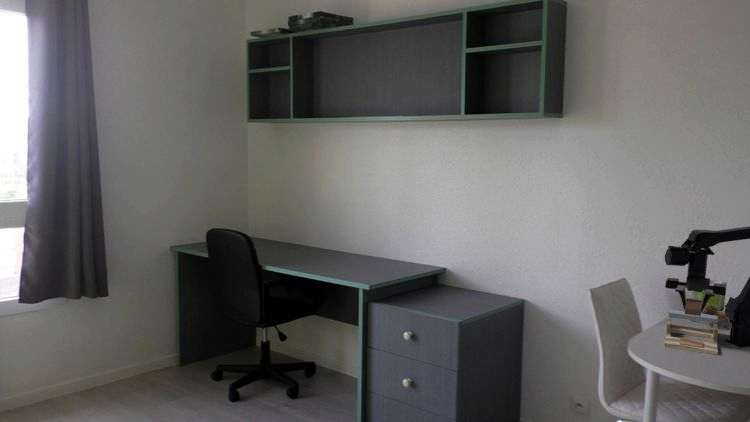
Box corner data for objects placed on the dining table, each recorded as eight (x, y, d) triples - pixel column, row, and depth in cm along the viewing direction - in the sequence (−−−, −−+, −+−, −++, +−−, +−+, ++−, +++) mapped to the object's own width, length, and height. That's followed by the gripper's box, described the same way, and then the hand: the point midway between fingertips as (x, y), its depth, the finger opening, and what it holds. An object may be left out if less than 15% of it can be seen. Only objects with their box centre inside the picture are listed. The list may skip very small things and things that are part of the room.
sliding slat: (717, 323, 231) (717, 319, 230) (668, 316, 238) (668, 312, 238) (717, 320, 235) (717, 315, 235) (669, 313, 242) (669, 309, 242)
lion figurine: (699, 327, 243) (701, 304, 242) (697, 323, 248) (699, 300, 247) (743, 332, 238) (745, 308, 237) (740, 328, 243) (742, 304, 242)
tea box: (716, 326, 245) (720, 288, 243) (688, 320, 251) (691, 283, 249) (723, 317, 257) (727, 281, 255) (696, 312, 263) (699, 277, 261)
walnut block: (700, 316, 221) (701, 303, 221) (684, 313, 224) (685, 301, 223) (701, 312, 226) (702, 300, 225) (685, 310, 228) (686, 298, 228)
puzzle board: (717, 354, 212) (718, 341, 212) (664, 346, 219) (665, 333, 219) (715, 334, 235) (716, 321, 234) (667, 327, 242) (668, 314, 241)
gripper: (666, 267, 220) (662, 311, 222) (728, 274, 211) (723, 320, 213) (668, 261, 230) (664, 304, 232) (727, 268, 221) (723, 312, 223)
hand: (693, 310), depth 225 cm, fingers closed on walnut block, 5 cm apart
